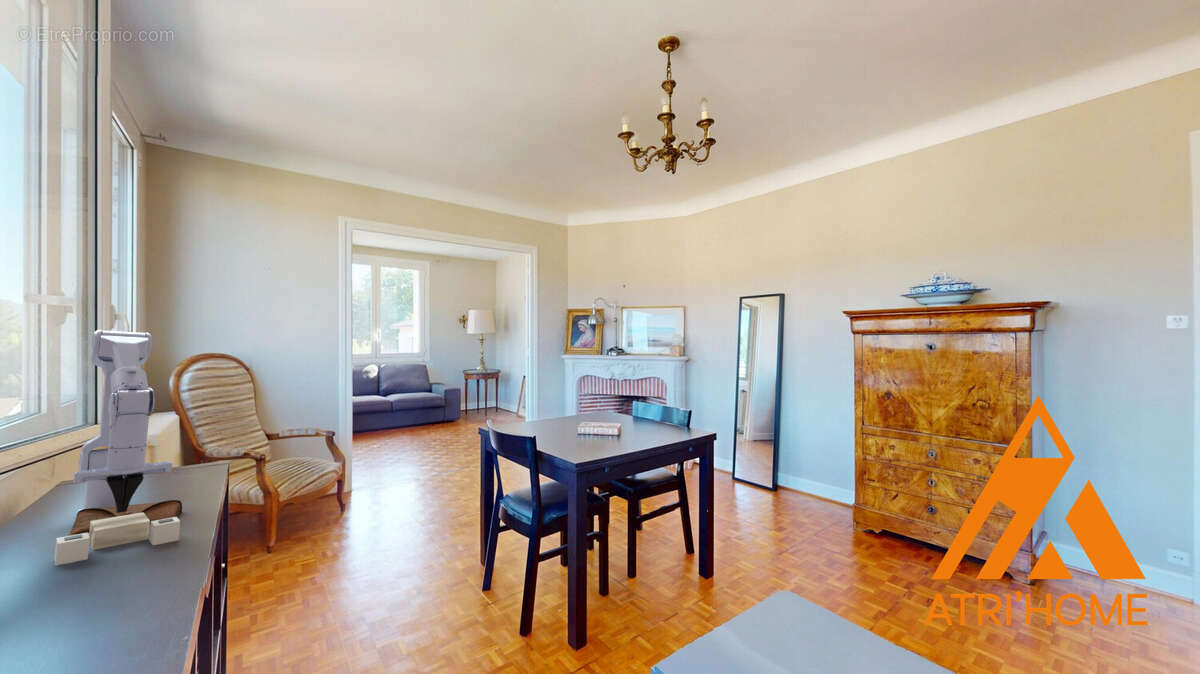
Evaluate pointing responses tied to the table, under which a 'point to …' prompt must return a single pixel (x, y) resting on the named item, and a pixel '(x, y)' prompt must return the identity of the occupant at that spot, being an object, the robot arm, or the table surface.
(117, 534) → the plain birch block
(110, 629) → the table surface
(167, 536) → the cream block marked 2
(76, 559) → the cream block marked 1
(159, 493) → the table surface
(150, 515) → the sunglasses case
